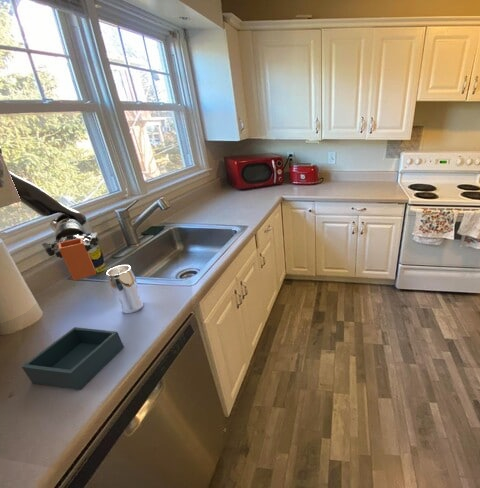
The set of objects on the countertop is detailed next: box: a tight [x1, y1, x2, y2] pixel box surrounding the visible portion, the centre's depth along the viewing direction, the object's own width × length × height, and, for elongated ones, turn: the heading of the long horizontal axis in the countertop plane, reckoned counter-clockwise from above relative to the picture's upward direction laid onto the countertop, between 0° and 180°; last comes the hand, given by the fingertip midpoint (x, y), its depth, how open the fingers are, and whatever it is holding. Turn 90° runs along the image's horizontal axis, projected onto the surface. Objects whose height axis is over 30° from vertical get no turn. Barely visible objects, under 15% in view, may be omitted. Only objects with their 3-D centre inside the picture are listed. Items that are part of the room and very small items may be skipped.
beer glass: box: [105, 264, 144, 314], centre depth 92 cm, size 7×7×15 cm
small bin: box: [58, 238, 97, 282], centre depth 86 cm, size 6×6×11 cm
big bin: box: [21, 326, 125, 391], centre depth 73 cm, size 14×14×6 cm
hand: (74, 251), depth 83 cm, fingers closed on small bin, 5 cm apart
